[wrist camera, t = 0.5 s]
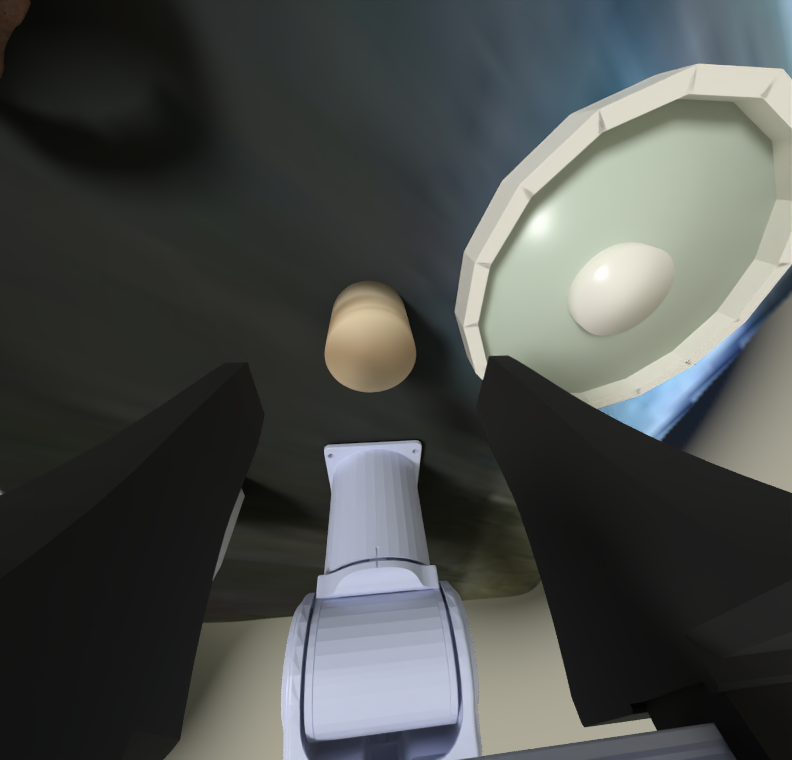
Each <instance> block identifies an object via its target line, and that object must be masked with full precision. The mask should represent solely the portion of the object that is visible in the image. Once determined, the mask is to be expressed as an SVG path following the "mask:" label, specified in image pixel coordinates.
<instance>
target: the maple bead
mask: <svg viewBox="0 0 792 760" xmlns="http://www.w3.org/2000/svg"><path fill="white" fill-rule="evenodd" d="M325 360H326V364H327V367H328V369H329V371H330V373H331V374H332V375H333V376H334V378H335V379H336V380H337V381H339V382H340V383H341V384H343V385H345V386H346V387H349V388H351V389H354V390H357V391H361V392H379V391H384V390H387V389H390V388H392V387H394V386H396V385H398V384H399V383H401V382H402V381H403V380H404V379H405V378H406V377H407V376H408V375H409V373H410V372H411V370H412V368H413V366H414V363H415V360H416V348H415V343H414V339H413V336H412V332H411V328H410V325H409V321H408V317H407V313H406V310H405V306H404V303H403V301H402V299H401V297H400V296H399V295H398V293H397V292H396V291H395V290H394V289H392V288H391V287H389V286H388V285H386V284H384V283H381V282H377V281H369V280H368V281H360V282H356V283H354V284H351V285H350V286H348V287H346V288H345V289H344V290H343V291H342V292H341V293H340V294H339V295H338V297H337V298H336V300H335V303H334V306H333V310H332V316H331V321H330V326H329V331H328V337H327V342H326V347H325Z"/></svg>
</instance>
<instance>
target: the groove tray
mask: <svg viewBox="0 0 792 760" xmlns="http://www.w3.org/2000/svg"><path fill="white" fill-rule="evenodd" d="M791 264H792V79H791V78H790V77H789V76H788V74H787V73H786V72H785V71H784V70H783V69H775V68H759V67H743V66H727V65H711V64H695V65H691V66H687V67H683V68H680V69H676V70H672V71H668V72H664V73H660V74H656V75H654V76H652V77H650V78H648V79H645V80H643V81H641V82H639V83H637V84H635V85H632V86H630V87H628V88H626V89H624V90H622V91H619V92H617V93H615V94H613V95H611V96H609V97H606V98H604V99H602V100H600V101H598V102H596V103H593V104H591V105H589V106H587V107H585V108H583V109H580V110H578V111H576V112H574V113H572V114H570V115H569V116H568V117H567V118H566V119H565V120H564V121H563V122H562V123H561V124H560V125H559V126H558V127H557V128H556V129H555V130H554V131H553V132H552V133H551V134H550V135H549V136H548V137H547V138H546V139H544V140H543V141H542V142H541V143H540V144H539V145H538V146H537V147H536V148H535V149H534V150H533V151H532V152H531V153H530V154H529V155H528V156H527V157H526V158H525V159H524V160H523V161H522V162H521V163H520V164H519V165H518V166H517V167H516V168H515V169H514V170H513V171H512V172H511V173H510V174H509V175H508V176H507V177H506V178H504V179H503V180H502V182H501V184H500V186H499V188H498V189H497V191H496V193H495V195H494V197H493V199H492V201H491V202H490V204H489V206H488V208H487V210H486V212H485V214H484V215H483V217H482V219H481V221H480V223H479V225H478V227H477V228H476V230H475V232H474V234H473V236H472V238H471V240H470V241H469V243H468V245H467V247H466V249H465V251H464V255H463V261H462V268H461V274H460V281H459V287H458V294H457V300H456V307H455V315H456V319H457V322H458V326H459V329H460V333H461V336H462V340H463V343H464V347H465V351H466V354H467V357H468V359H469V361H470V363H471V365H472V367H473V369H474V371H475V373H476V374H477V375H478V376H479V377H480V378H481V379H482V380H483V378H484V374H485V370H486V366H487V362H488V358H489V356H503V355H508V356H510V357H512V358H514V359H516V360H518V361H519V362H521V363H523V364H524V365H526V366H527V367H529V368H531V369H532V370H534V371H535V372H537V373H539V374H540V375H542V376H543V377H545V378H546V379H548V380H550V381H551V382H553V383H554V384H556V385H557V386H559V387H561V388H562V389H564V390H565V391H567V392H569V393H570V394H572V395H574V396H575V397H577V398H579V399H580V400H582V401H584V402H585V403H587V404H589V405H591V406H593V407H594V408H596V409H598V408H601V407H605V406H608V405H611V404H614V403H618V402H621V401H624V400H627V399H630V398H634V397H637V396H640V395H641V394H643V393H645V392H647V391H649V390H650V389H652V388H654V387H656V386H658V385H659V384H661V383H663V382H665V381H667V380H668V379H670V378H672V377H674V376H676V375H677V374H679V373H681V372H683V371H685V370H686V369H688V368H690V367H692V366H693V365H694V364H696V363H697V362H698V361H699V360H700V359H702V358H703V357H704V356H705V355H706V354H708V353H709V352H710V351H711V350H712V349H714V348H715V347H716V346H717V345H718V344H720V343H721V342H722V341H723V340H724V339H726V338H727V337H728V336H729V335H730V334H732V333H733V332H734V331H735V330H736V329H738V328H739V327H740V326H741V325H742V324H744V323H745V322H746V321H747V319H748V318H749V317H750V316H751V314H752V313H753V312H754V311H755V309H756V308H757V307H758V306H759V304H760V303H761V302H762V301H763V299H764V298H765V297H766V296H767V294H768V293H769V292H770V291H771V289H772V288H773V287H774V286H775V284H776V283H777V282H778V281H779V279H780V278H781V277H782V276H783V274H784V273H785V272H786V271H787V269H788V268H789V267H790V266H791Z"/></svg>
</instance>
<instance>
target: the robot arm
mask: <svg viewBox="0 0 792 760" xmlns="http://www.w3.org/2000/svg"><path fill="white" fill-rule="evenodd" d="M477 409H478V413H479V416H480V420H481V423H482V426H483V430H484V433H485V435H486V438H487V440H488V442H489V444H490V447H491V449H492V451H493V453H494V456H495V458H496V460H497V462H498V464H499V466H500V469H501V471H502V473H503V475H504V477H505V480H506V482H507V484H508V486H509V488H510V491H511V493H512V495H513V497H514V500H515V502H516V505H517V507H518V510H519V512H520V515H521V518H522V521H523V524H524V527H525V530H526V533H527V536H528V539H529V542H530V545H531V548H532V551H533V555H534V558H535V561H536V564H537V567H538V571H539V574H540V577H541V580H542V584H543V587H544V591H545V594H546V598H547V601H548V605H549V608H550V612H551V615H552V619H553V623H554V627H555V631H556V635H557V639H558V643H559V646H560V650H561V655H562V658H563V663H564V667H565V671H566V675H567V679H568V684H569V688H570V692H571V697H572V699H573V702H574V705H575V707H576V710H577V712H578V715H579V718H580V720H581V723H582V725H583V726H584V727H590V726H597V725H604V724H611V723H618V722H626V721H633V720H640V719H647V718H651V719H652V721H653V723H654V725H655V727H656V729H657V731H653V732H645V733H639V734H632V735H625V736H618V737H611V738H604V739H598V740H590V741H584V742H577V743H570V744H564V745H557V746H549V747H542V748H535V749H528V750H521V751H516V752H515V751H514V752H508V753H501V754H494V755H487V756H481V754H482V745H481V737H480V728H479V717H478V698H479V684H478V673H477V664H476V657H475V651H474V645H473V640H472V635H471V630H470V626H469V622H468V619H467V615H466V611H465V608H464V605H463V603H462V600H461V598H460V596H459V594H458V593H457V592H456V591H455V590H454V589H453V588H452V587H451V585H450V584H449V583H448V582H447V581H438V575H437V570H436V566H435V565H430V563H429V557H428V550H427V544H426V538H425V532H424V526H423V520H422V513H421V507H420V501H419V495H418V489H417V484H418V475H419V467H420V458H421V449H422V445H421V442H420V441H418V440H411V441H391V442H372V443H352V444H333V445H327V446H325V449H324V454H325V460H326V465H327V470H328V476H329V481H330V487H331V492H332V495H331V506H330V517H329V528H328V539H327V550H326V561H325V572H324V575H319V576H318V583H317V593H309V594H307V595H306V596H305V598H304V600H303V601H302V602H301V604H300V605H299V606H298V607H297V609H296V611H295V613H294V616H293V619H292V623H291V627H290V631H289V635H288V641H287V646H286V653H285V660H284V668H283V678H282V693H281V718H282V725H283V730H284V747H283V749H284V750H283V760H792V493H790V492H787V491H784V490H782V489H779V488H776V487H774V486H771V485H768V484H765V483H762V482H760V481H757V480H754V479H752V478H749V477H746V476H743V475H741V474H738V473H736V472H733V471H730V470H728V469H725V468H723V467H720V466H717V465H715V464H712V463H710V462H707V461H705V460H703V459H701V458H698V457H696V456H693V455H691V454H689V453H686V452H684V451H681V450H679V449H677V448H674V447H672V446H670V445H668V444H665V443H663V442H661V441H659V440H657V439H654V438H652V437H650V436H648V435H646V434H644V433H642V432H640V431H638V430H636V429H634V428H632V427H630V426H628V425H626V424H624V423H622V422H620V421H618V420H616V419H614V418H612V417H610V416H608V415H607V414H605V413H603V412H601V411H600V410H598V409H596V408H594V407H593V406H591V405H589V404H587V403H585V402H584V401H582V400H580V399H579V398H577V397H575V396H574V395H572V394H570V393H569V392H567V391H565V390H564V389H562V388H561V387H559V386H557V385H556V384H554V383H553V382H551V381H550V380H548V379H546V378H545V377H543V376H542V375H540V374H539V373H537V372H535V371H534V370H532V369H531V368H529V367H527V366H526V365H524V364H523V363H521V362H519V361H518V360H516V359H514V358H512V357H510V356H508V355H503V356H489V358H488V362H487V366H486V370H485V374H484V378H483V382H482V386H481V390H480V394H479V398H478V402H477ZM263 419H264V412H263V408H262V405H261V402H260V399H259V396H258V393H257V390H256V387H255V384H254V381H253V378H252V375H251V372H250V369H249V365H248V363H225V364H223V365H221V366H220V367H218V368H216V369H215V370H213V371H212V372H210V373H209V374H207V375H206V376H204V377H203V378H201V379H200V380H198V381H197V382H195V383H194V384H192V385H191V386H190V387H188V388H187V389H185V390H184V391H182V392H181V393H179V394H178V395H176V396H175V397H173V398H172V399H170V400H169V401H168V402H166V403H165V404H163V405H162V406H160V407H159V408H157V409H155V410H154V411H152V412H151V413H149V414H148V415H146V416H144V417H143V418H141V419H140V420H138V421H137V422H135V423H133V424H132V425H130V426H129V427H127V428H125V429H124V430H122V431H121V432H119V433H118V434H116V435H114V436H113V437H111V438H109V439H107V440H106V441H104V442H102V443H101V444H99V445H97V446H95V447H94V448H92V449H90V450H88V451H86V452H85V453H83V454H81V455H79V456H77V457H75V458H74V459H72V460H70V461H68V462H66V463H64V464H63V465H61V466H59V467H57V468H55V469H53V470H51V471H49V472H47V473H45V474H43V475H41V476H39V477H37V478H35V479H33V480H31V481H29V482H27V483H25V484H23V485H21V486H19V487H17V488H15V489H13V490H11V491H9V492H6V493H4V494H2V495H0V760H163V759H164V758H165V757H166V756H167V755H168V754H169V753H170V752H171V751H172V749H173V748H174V747H175V746H176V744H177V743H178V742H179V740H180V737H181V731H182V725H183V718H184V713H185V708H186V702H187V697H188V691H189V686H190V681H191V676H192V670H193V665H194V660H195V655H196V650H197V646H198V641H199V636H200V632H201V627H202V623H203V618H204V614H205V609H206V605H207V601H208V597H209V593H210V589H211V585H212V581H213V577H214V572H215V568H216V565H217V561H218V557H219V554H220V550H221V546H222V543H223V539H224V535H225V532H226V529H227V526H228V523H229V520H230V517H231V514H232V511H233V509H234V506H235V504H236V501H237V498H238V496H239V493H240V490H241V488H242V485H243V483H244V480H245V478H246V475H247V472H248V470H249V467H250V464H251V462H252V459H253V456H254V454H255V451H256V448H257V445H258V442H259V438H260V434H261V429H262V424H263ZM415 449H416V450H415Z"/></svg>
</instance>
